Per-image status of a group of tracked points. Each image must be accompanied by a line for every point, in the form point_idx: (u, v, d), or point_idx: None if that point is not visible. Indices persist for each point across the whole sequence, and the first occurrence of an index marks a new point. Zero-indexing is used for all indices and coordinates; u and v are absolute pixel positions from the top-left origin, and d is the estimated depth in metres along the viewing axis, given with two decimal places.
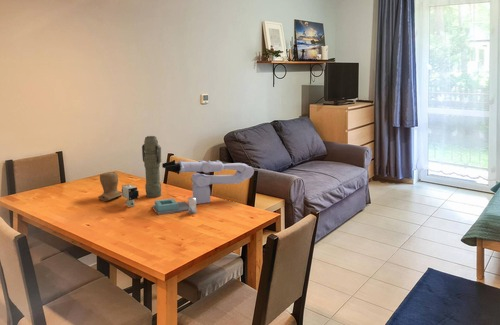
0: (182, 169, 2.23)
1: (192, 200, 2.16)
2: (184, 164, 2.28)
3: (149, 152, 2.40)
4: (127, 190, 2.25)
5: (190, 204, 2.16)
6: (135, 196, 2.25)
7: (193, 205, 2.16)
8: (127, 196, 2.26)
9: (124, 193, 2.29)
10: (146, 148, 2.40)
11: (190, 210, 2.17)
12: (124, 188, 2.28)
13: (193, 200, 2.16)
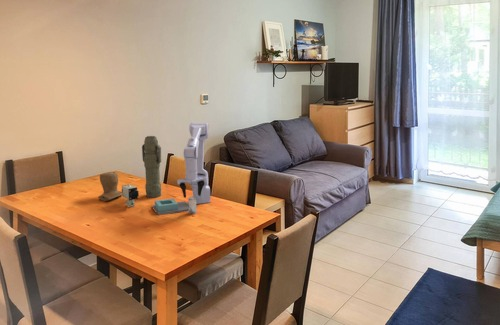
0: None
1: (192, 200, 2.16)
2: (196, 176, 2.14)
3: (149, 152, 2.40)
4: (127, 190, 2.25)
5: (190, 204, 2.16)
6: (135, 196, 2.25)
7: (193, 205, 2.16)
8: (127, 196, 2.26)
9: (124, 193, 2.29)
10: (146, 148, 2.40)
11: (190, 210, 2.17)
12: (124, 188, 2.28)
13: (193, 200, 2.16)
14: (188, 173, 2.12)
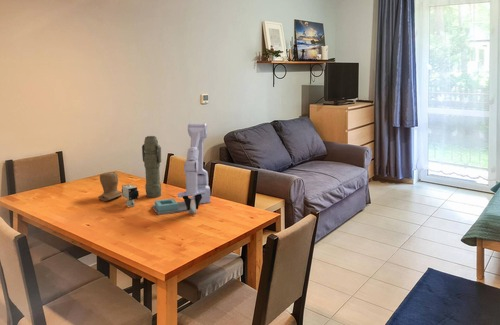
0: None
1: (192, 200, 2.16)
2: (197, 190, 2.16)
3: (149, 152, 2.40)
4: (127, 190, 2.25)
5: (190, 204, 2.16)
6: (135, 196, 2.25)
7: (193, 205, 2.16)
8: (127, 196, 2.26)
9: (124, 193, 2.29)
10: (146, 148, 2.40)
11: (190, 210, 2.17)
12: (124, 188, 2.28)
13: (193, 200, 2.16)
14: (188, 186, 2.14)
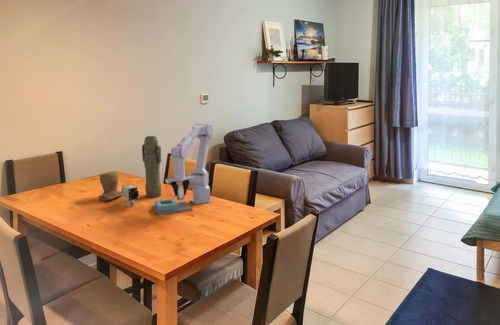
0: None
1: (180, 186, 2.17)
2: (184, 175, 2.17)
3: (149, 152, 2.40)
4: (127, 190, 2.25)
5: (178, 190, 2.17)
6: (135, 196, 2.25)
7: (181, 191, 2.17)
8: (127, 196, 2.26)
9: (124, 193, 2.29)
10: (146, 148, 2.40)
11: (178, 196, 2.18)
12: (124, 188, 2.28)
13: (181, 186, 2.17)
14: (176, 172, 2.14)
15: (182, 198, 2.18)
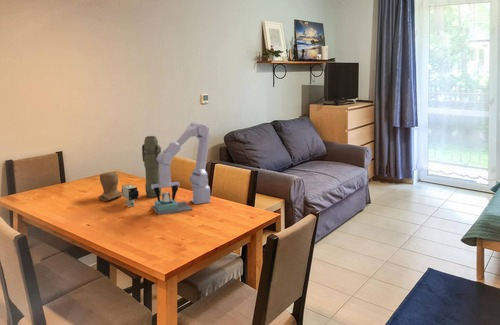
0: None
1: (166, 195, 2.21)
2: (170, 181, 2.21)
3: (149, 152, 2.40)
4: (127, 190, 2.25)
5: (164, 199, 2.21)
6: (135, 196, 2.25)
7: (167, 200, 2.21)
8: (127, 196, 2.26)
9: (124, 193, 2.29)
10: (146, 148, 2.40)
11: None
12: (124, 188, 2.28)
13: (167, 195, 2.21)
14: (162, 178, 2.18)
15: None
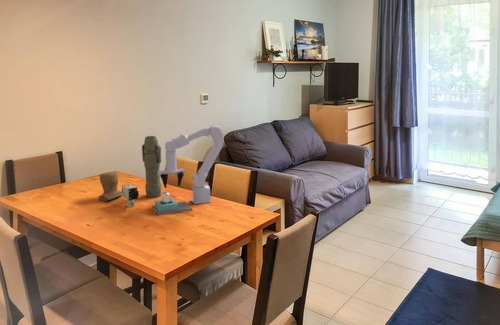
0: None
1: (166, 195, 2.21)
2: (176, 168, 2.30)
3: (149, 152, 2.40)
4: (127, 190, 2.25)
5: (164, 199, 2.21)
6: (135, 196, 2.25)
7: (167, 200, 2.21)
8: (127, 196, 2.26)
9: (124, 193, 2.29)
10: (146, 148, 2.40)
11: None
12: (124, 188, 2.28)
13: (167, 195, 2.21)
14: (168, 165, 2.28)
15: None
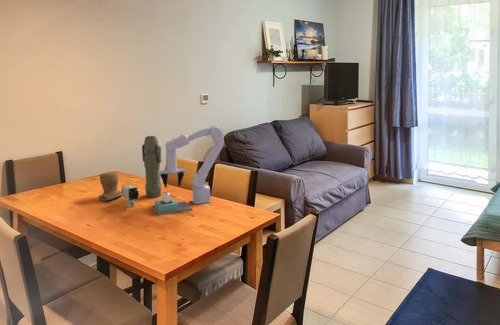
0: None
1: (166, 195, 2.21)
2: (176, 168, 2.31)
3: (149, 152, 2.40)
4: (127, 190, 2.25)
5: (164, 199, 2.21)
6: (135, 196, 2.25)
7: (167, 200, 2.21)
8: (127, 196, 2.26)
9: (124, 193, 2.29)
10: (146, 148, 2.40)
11: None
12: (124, 188, 2.28)
13: (167, 195, 2.21)
14: (168, 165, 2.29)
15: None
